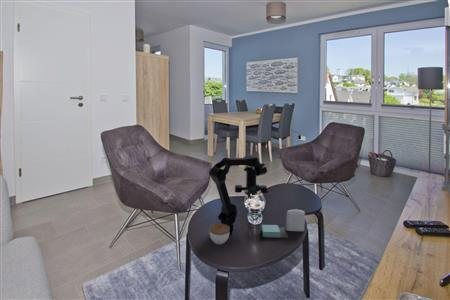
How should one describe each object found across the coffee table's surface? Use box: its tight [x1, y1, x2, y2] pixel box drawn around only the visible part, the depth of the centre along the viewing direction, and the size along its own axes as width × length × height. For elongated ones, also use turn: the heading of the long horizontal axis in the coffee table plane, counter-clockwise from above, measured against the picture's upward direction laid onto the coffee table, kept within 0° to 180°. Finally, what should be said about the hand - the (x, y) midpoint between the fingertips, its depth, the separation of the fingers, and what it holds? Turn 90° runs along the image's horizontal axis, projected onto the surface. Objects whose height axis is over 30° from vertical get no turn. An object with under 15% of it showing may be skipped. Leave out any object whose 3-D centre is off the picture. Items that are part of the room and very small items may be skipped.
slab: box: [261, 224, 280, 238], centre depth 165 cm, size 3×8×9 cm
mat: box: [265, 226, 289, 239], centre depth 167 cm, size 12×11×1 cm
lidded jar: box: [208, 222, 230, 245], centre depth 156 cm, size 11×11×9 cm
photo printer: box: [285, 209, 306, 232], centre depth 169 cm, size 10×4×12 cm, turn 86°
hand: (250, 202), depth 176 cm, fingers closed
